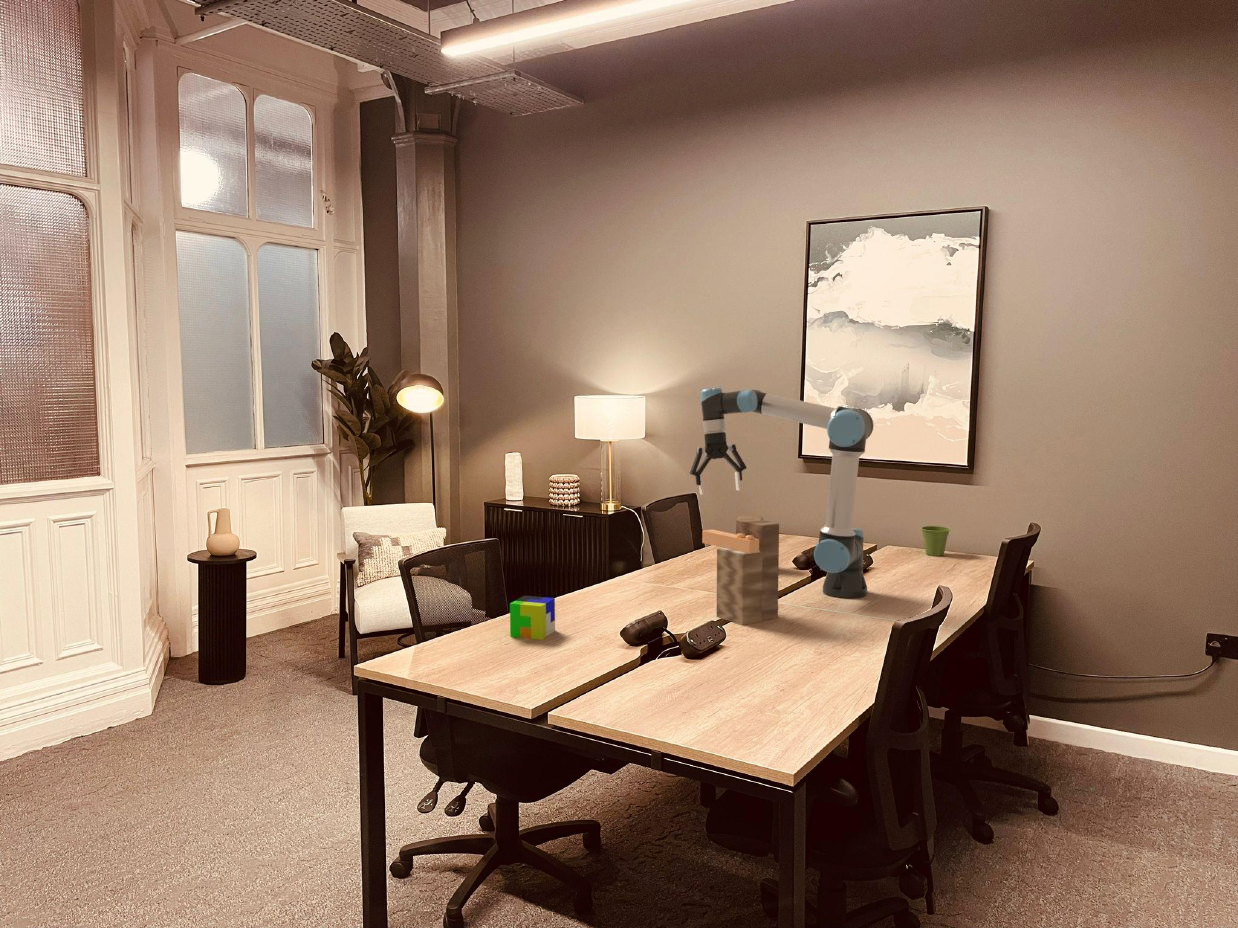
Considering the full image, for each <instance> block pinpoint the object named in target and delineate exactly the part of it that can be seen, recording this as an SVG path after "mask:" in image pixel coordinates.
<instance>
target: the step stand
mask: <svg viewBox="0 0 1238 928" xmlns="http://www.w3.org/2000/svg"><path fill="white" fill-rule="evenodd" d="M735 526H736V528H735V529H736V531H735V534H736V535H737V534H739V533H743V534H745V537H746V536H747V535H752V536H754V538H755V539H759V552H758V553H752V554H748V553H744V552H739V551H735V550H731V549H726V548H722V547H719V548H716V617H717V618H719V619H723V620H724V621H729V622H732V623H735V624H738V625H741V626H745V625H750V624H754V623H759V622H763V621H769V620H773V619H778V618H779V568H780V567H779V566H780V565H779V561H780V559H779V558H780V554H779V550H780V523H779V522H775V521H769V520H765V519H763V520H759V519H753V518H751V519H744V520H737V519H736V523H735Z"/></svg>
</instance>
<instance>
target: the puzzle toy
mask: <svg viewBox="0 0 1238 928" xmlns="http://www.w3.org/2000/svg"><path fill="white" fill-rule="evenodd" d="M555 601H556V599H555V597H548V596H547V597H545V596H534V595H522V596H520V597H519V598H518V599H516V600H514V601H512V602H510V603H509V627H510V634H509V636H510V638H521V639H529V640H530V639H531V640H538V641H539V640H540V641H542V640H544V639H545V638H546V637H548V636H549V635H551V634H552V633H554V632H555V631H556V602H555Z"/></svg>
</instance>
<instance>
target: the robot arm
mask: <svg viewBox="0 0 1238 928" xmlns="http://www.w3.org/2000/svg"><path fill="white" fill-rule="evenodd" d="M700 406H701V413H702V423H703V432H704V435H703V436H704V445H705V446H704V447H697V448H696V455H695V458H694V461H693V462H692V465H691V469H690V472H689V474H690V475H691V476H694V477H695V484H696V486H698V489H699V495H701V496H703V495H705V487H704V478H703V475H702V473H703V472H704V471H705V469H706V467H707V466H708V464H709V462H711V460H716V459H724V460H725V461H727V463H728V464H729V465H730V466H731V467H732V468H733V469H734V470H735V471H734V482H735V490H736V491H738V492H739V491H742V489H741V481H743V471H744V470H746V469H747V466H746V463H745V462H744V461H743V459H742V457H741V456H740V454H739V452H738V451H737V446H736V443H735V444H734V443H733V444H730V445H728V444H727V434H726V432H725V430H726V424H725V423H726V421H725V415H731V414H732V415H733V414H741V413H742V414H743V413H750V412H751V413H756V414H761V415H766V416H771V417H775V418H779V419H783V420H787V421H791V422H795V423H800V424H804V425H808V426H812V427H817V428H821V429H826V432H827V436H828V438H829V441H828V450H829V451H830V453H831V455H832V458H831V466H830V467H831V468H830V474H829V475H830V476H829V487H828V494H827V495H828V496H827V503H826V512H825V513H826V514H825V522H824V523H825V524H824V525H823V526H822V527H821V528H820V529H819V537H818V543H817V544H815V545H816V546H815V547H814V550H813V558H814V561H815V563H816V565H817V566H818V567H819V569H821V570H822V571H824V572H826V576H825V579H824V581H823V583H822V593H823V594H825V595H826V596H829V597H830V596H831V597H835V598H844V599H845V598H847V599H854V598H856V599H858V598H863V597H865V596H867V595H868V585H867V582H866V578H865V576H864V571H863V569H864V568H863V566H864V563H863V562H864V540H865V536H864V531H863V529H861V528H854V527H853V517H854V516H853V515H854V508H855V499H856V491H857V488H856V487H857V481H858V472H859V463H860V458H861V456H862V455H863V454H865V453H866V444H867V443H866V442H867V440H868V439H869V438H870V437H871V435H872V433H873V431H874V420H873V417H872V416H871V415H870V413H868V412H867V411H866V410H864V409H861V408H858V407H857V408H856V407H855V408H854V407H853V408H852V407H846V406H845V407H844V406H842V405H841V406H840V405H839V406H836V407H831V406H827V405H826V406H825V405H822V404H818V403H814V402H808V401H804V400H800V399H795V398H790V397H786V396H781V395H776V394H771V393H766V392H762V391H760V390H758V389H744V390H737V391H736V390H735V391H727V392H723V390H722V388H721V387H714V388H713V387H712V388H704V389H702V390H701V391H700ZM728 451H730V452H731V453H732V456H733V457H734V459H735V460H734V459H733V458H732V457H731V456H730V455H729V454H728V453H727V452H728ZM704 453H705V454H706V455H705V456H704V459H703V461H702V462H701V464H700V461H701V459H702V455H704ZM735 461H736V462H735ZM699 464H700V465H699Z"/></svg>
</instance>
